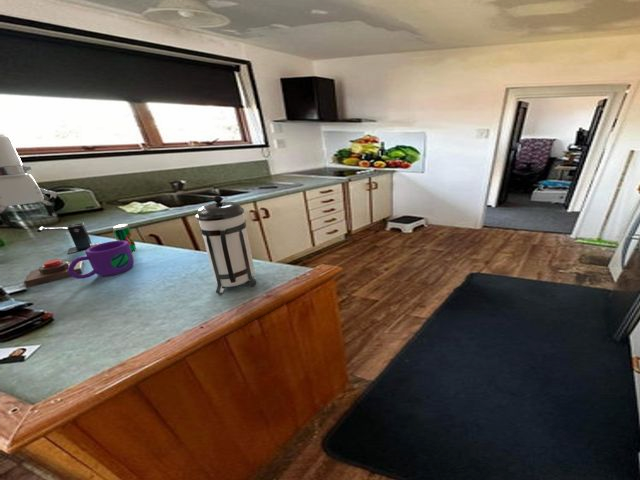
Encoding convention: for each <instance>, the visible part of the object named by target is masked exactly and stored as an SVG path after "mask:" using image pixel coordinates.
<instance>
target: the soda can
mask: <svg viewBox="0 0 640 480" xmlns="http://www.w3.org/2000/svg"><path fill="white" fill-rule="evenodd" d="M112 228H113V229H112V232H113V235H114V237H115V241H127V242H128V243H129V246H130V249H131V252H132V253H134V252H136V251H135V250H137V245H136V243H135V240H134V237H133V235H132V231H131V228H130V226H128V224H126V223H122V224H118V225H117V224H116V225H114V226H113V227H112ZM133 251H134V252H133Z"/></svg>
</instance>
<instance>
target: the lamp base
mask: <svg viewBox="0 0 640 480" xmlns="http://www.w3.org/2000/svg"><path fill="white" fill-rule="evenodd" d="M61 262H62V264H61V265H58V266H55V267H51V268H45V266H44V264H43V265H42V266H39V267H38V268H36V269H32V270H30V271H29V273H28V274H27V276H26V278H25V279H24V284H25V286H26V288H29V287H34V286H37V285H42V284H45V283H50V282H52V281H53V282H54V281H57V280H61V279H66V278H69V277H72V276H71V275H70V274H69V273H68V267H69V265H70V264H71V262H72V261H68V260H61ZM84 269H85V261H84V260H82V261H79V262H78V263H77V264H76V266H75V268H74V272H76V273H77V274H79V275H83V273H84Z"/></svg>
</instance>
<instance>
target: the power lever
mask: <svg viewBox="0 0 640 480" xmlns="http://www.w3.org/2000/svg"><path fill="white" fill-rule="evenodd" d="M47 231H48V232H50V231H51V232H52V231H53V232H54V231H69V230H68V227H44V226H39V227H38V229H37V230H36V232H38V233H42V232H47Z"/></svg>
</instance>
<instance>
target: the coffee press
mask: <svg viewBox="0 0 640 480" xmlns="http://www.w3.org/2000/svg"><path fill="white" fill-rule="evenodd" d="M244 213H245V209H244V207H243V206H242V205H241V204H240V203H238V202H234V201H223V197H222V196H221V195H215V196H214V197H213V203H208V204H205V205H204V206H202V207H200V208H199V209H198V211H197V214H196V215H195V218H196V220H197V221H198V222H199V230H200V234H201V235H202V238H203V242H204V246H205V250H206V253H207V258H208V261H209V262H208V263H209V265H210V270H211V273H212V277H213V280H214V283H215V284H216V285H217V286H216V290H215V294H217V295H223V293H224V291H225V289H226V288H232V287H236V286H240V285H243V284H245V283H246V284H247V285H249V286H250V287H253V286H255V285H257V282H256V280H255V279H254V278H253V277H254V276H255V273H256V271H255V267H254V266H255V265H254V260H253V256H252V250H251V245H250V240H249V234H248V230H247V221H246V219H245V215H244Z"/></svg>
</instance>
